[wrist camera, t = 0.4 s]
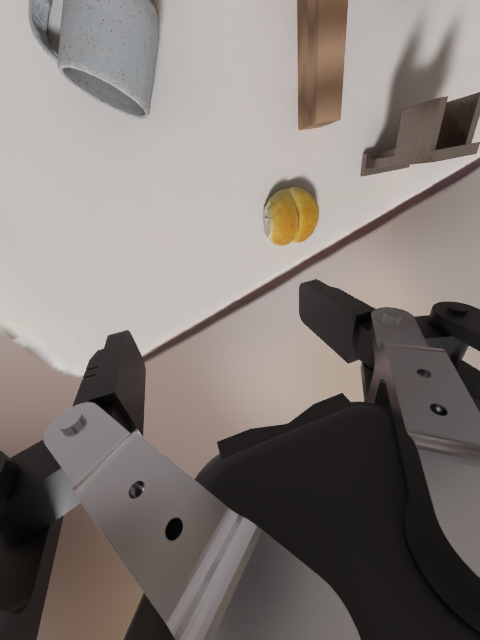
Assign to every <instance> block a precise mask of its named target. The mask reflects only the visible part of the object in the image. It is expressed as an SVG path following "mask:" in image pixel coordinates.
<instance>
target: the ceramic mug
mask: <svg viewBox="0 0 480 640" xmlns="http://www.w3.org/2000/svg"><path fill="white" fill-rule="evenodd" d="M52 1H53V0H29V20H30V25H31V28H32V31H33V33H34V35H35V37H36V39H37V41H38V42H39V44H40V45H41V47H42V48H43V50H44V51H45V52H46V53H47V54H48V55H49V56H50V57H51V58H52V59H53V60H55V61H56V62H57V63H58V68H59V70H60V72H61V73H62V74H63V75H64V76H65V77H66V78H67V79H68V80H69V81H70V82H71V83H72V84H74V85H75V86H76V87H78V88H79V89H81V90H82V91H83V92H85V93H86V94H88V95H89V96H91V97H92V98H94V99H96V100H97V101H100V102H102V103H103V104H105V105H107V106H108V107H110V108H112V109H115V110H117V111H119V112H121V113H124V114H126V115H129V116H132V117H136V118H140V119H142V118H147V117H148V115H149V112H150V104H151V96H152V89H153V82H154V74H155V66H156V58H157V51H158V44H159V17H158V12H157V9H156V6H155V4H154V1H153V0H63V11H62V20H61V29H60V42H59V50H58V57H57V56H56V55H55V54H54V52H53V51H52V50H51V48H50V46H49V43H48V37H47V25H48V17H49V11H50V9H51V2H52Z"/></svg>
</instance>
